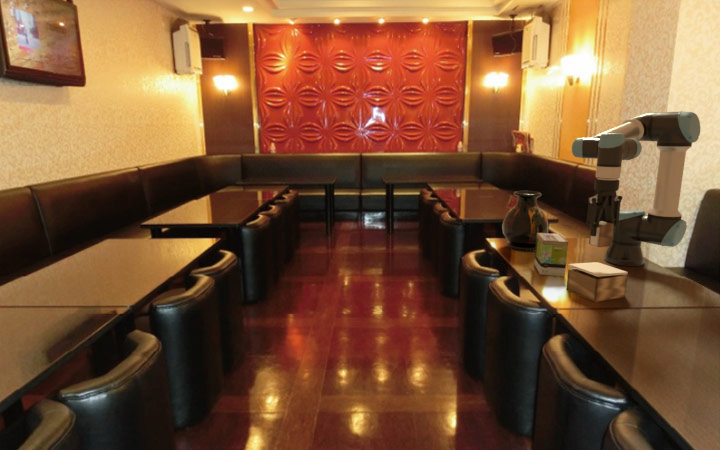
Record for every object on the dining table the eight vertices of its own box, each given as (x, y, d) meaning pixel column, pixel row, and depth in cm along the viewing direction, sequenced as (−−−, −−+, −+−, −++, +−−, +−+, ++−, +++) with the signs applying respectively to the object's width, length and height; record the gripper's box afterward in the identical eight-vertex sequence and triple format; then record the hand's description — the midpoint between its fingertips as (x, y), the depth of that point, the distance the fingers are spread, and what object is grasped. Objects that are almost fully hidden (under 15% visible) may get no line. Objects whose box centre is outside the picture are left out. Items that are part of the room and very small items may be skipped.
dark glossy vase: (541, 256, 213) (546, 197, 207) (495, 249, 224) (498, 193, 218) (550, 246, 230) (555, 191, 224) (507, 240, 242) (511, 188, 236)
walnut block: (599, 242, 165) (601, 221, 163) (611, 246, 160) (613, 223, 159) (588, 244, 163) (591, 222, 161) (600, 247, 159) (603, 224, 157)
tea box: (565, 276, 184) (569, 241, 181) (539, 275, 186) (542, 240, 183) (557, 265, 198) (560, 232, 195) (533, 264, 200) (536, 231, 197)
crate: (595, 285, 174) (597, 265, 172) (625, 296, 162) (627, 275, 160) (566, 289, 169) (568, 269, 167) (595, 302, 157) (597, 280, 155)
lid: (597, 264, 172) (597, 262, 172) (627, 274, 160) (627, 272, 160) (568, 266, 167) (568, 263, 167) (597, 276, 155) (597, 274, 155)
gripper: (617, 176, 163) (610, 239, 168) (578, 178, 157) (572, 243, 162) (636, 178, 156) (628, 244, 161) (596, 181, 150) (589, 249, 155)
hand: (600, 244), depth 162 cm, fingers closed on walnut block, 5 cm apart
